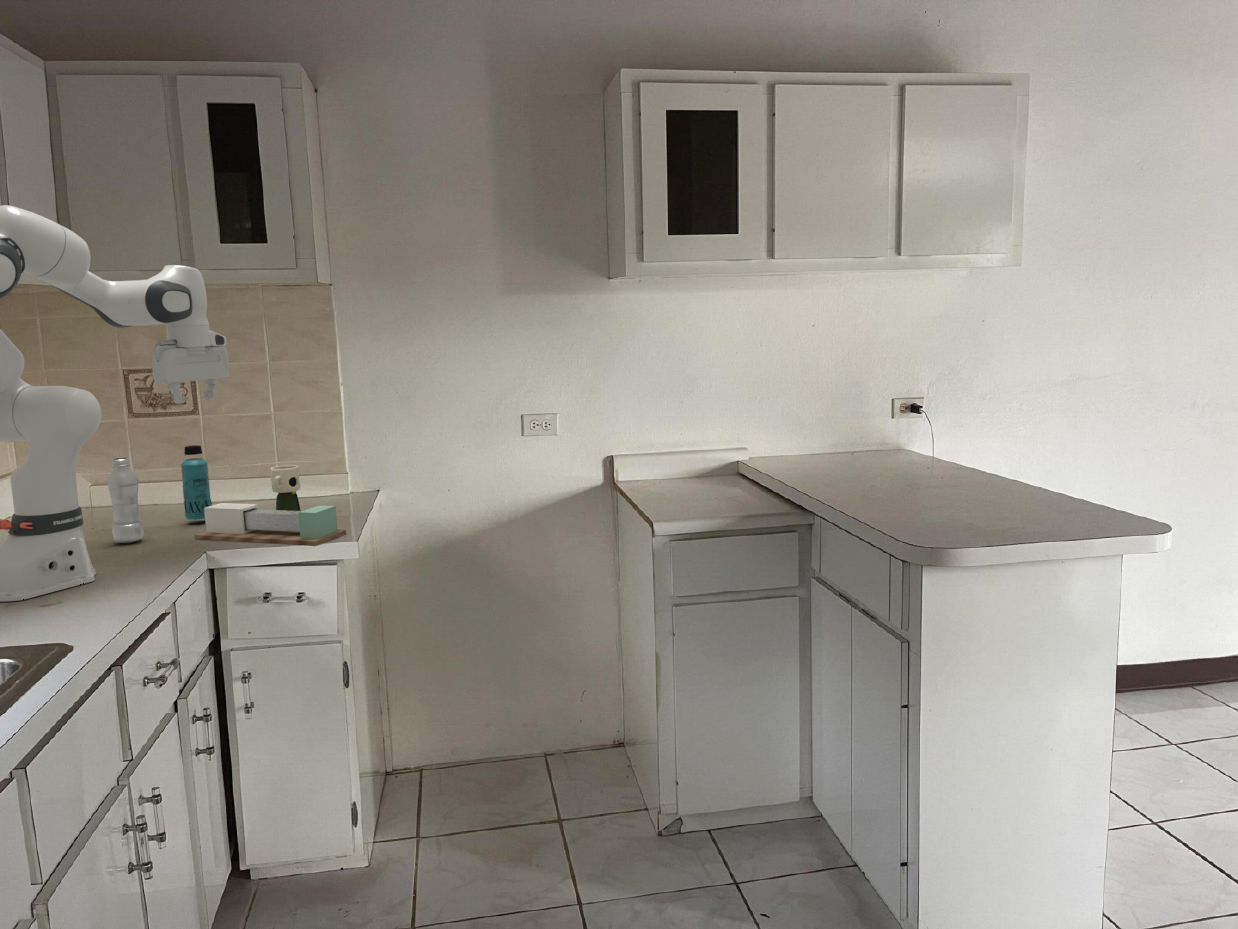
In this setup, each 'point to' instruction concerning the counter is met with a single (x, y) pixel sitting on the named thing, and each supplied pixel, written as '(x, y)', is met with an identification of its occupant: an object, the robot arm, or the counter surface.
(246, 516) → the rectangular peg
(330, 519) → the socket
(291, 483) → the character mug
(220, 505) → the sleeve
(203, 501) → the beverage bottle
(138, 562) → the counter surface
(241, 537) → the baseboard
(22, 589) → the robot arm
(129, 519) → the plastic bottle
